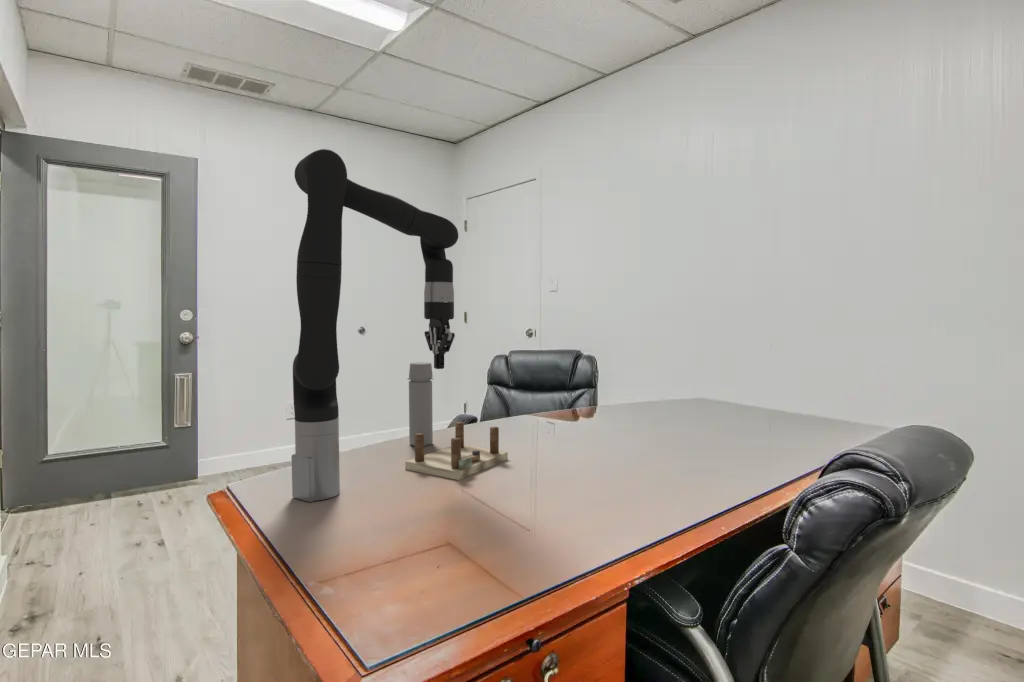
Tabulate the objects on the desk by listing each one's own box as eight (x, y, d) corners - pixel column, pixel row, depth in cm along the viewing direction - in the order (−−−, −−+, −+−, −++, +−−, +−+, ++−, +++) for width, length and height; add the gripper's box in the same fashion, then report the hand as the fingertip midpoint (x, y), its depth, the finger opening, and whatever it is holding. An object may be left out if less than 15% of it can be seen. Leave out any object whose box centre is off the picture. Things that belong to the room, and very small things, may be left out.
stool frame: (458, 480, 134) (458, 443, 134) (405, 469, 143) (405, 434, 143) (507, 459, 153) (507, 427, 152) (457, 450, 162) (457, 420, 161)
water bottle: (431, 447, 166) (431, 364, 165) (405, 447, 166) (404, 364, 165) (436, 440, 175) (436, 361, 174) (412, 439, 175) (411, 361, 174)
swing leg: (474, 457, 146) (474, 431, 146) (482, 458, 145) (482, 432, 144) (449, 467, 137) (449, 439, 137) (456, 468, 136) (456, 440, 135)
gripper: (414, 300, 143) (414, 367, 144) (437, 300, 132) (437, 372, 133) (440, 301, 148) (440, 365, 149) (464, 300, 137) (464, 370, 138)
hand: (439, 368), depth 141 cm, fingers closed
